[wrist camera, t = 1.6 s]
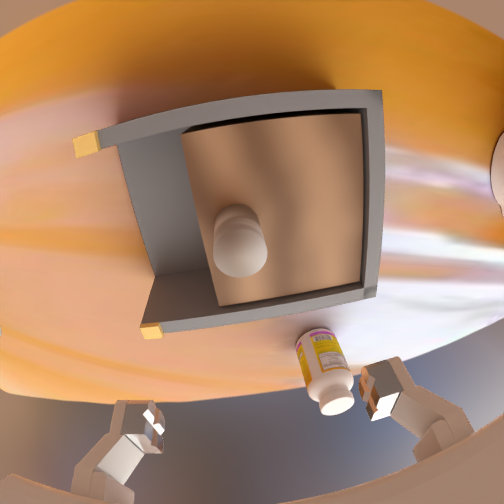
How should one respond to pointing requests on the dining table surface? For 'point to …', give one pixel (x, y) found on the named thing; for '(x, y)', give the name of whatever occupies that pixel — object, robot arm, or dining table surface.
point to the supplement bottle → (325, 371)
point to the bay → (186, 221)
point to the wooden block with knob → (278, 201)
